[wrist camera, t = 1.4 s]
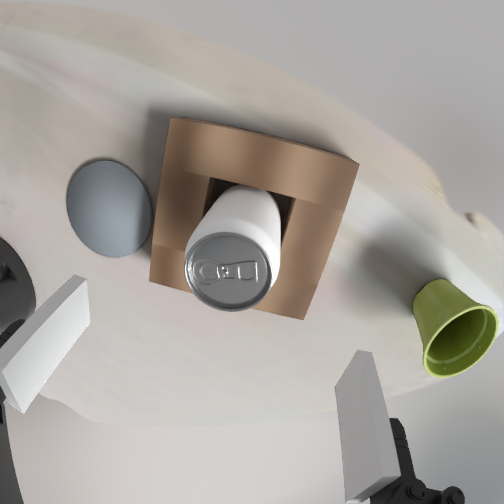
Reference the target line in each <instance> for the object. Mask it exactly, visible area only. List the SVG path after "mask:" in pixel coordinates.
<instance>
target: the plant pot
mask: <svg viewBox="0 0 504 504" xmlns="http://www.w3.org/2000/svg"><path fill="white" fill-rule="evenodd" d="M413 314H414V317H415V320H416V323H417V326H418V329H419V332H420V336H421V339H422V343H423V365H424V368H425V370H426V371H427V373H429V374H430V375H431V376H434V377H438V378H446V377H452V376H455V375H457V374H459V373H462V372H464V371H466V370H467V369H469V368H470V367H472V366H473V365H474V364H476V363H477V362H478V361H479V360H480V359H481V358H482V357H483V356H484V355H485V353H486V352H487V351H488V349H489V348H490V347H491V345H492V344H493V342H494V340H495V337H496V334H497V331H498V317H497V314H496V313H495V311H494V310H493V309H492V308H491V307H489V306H486V305H481V304H479V303H476V302H475V301H473V300H472V299H471V298H470V297H468V296H467V295H466V294H465V293H463V292H462V291H461V290H460V289H458V288H457V287H456V286H455V285H453V284H452V283H451V282H449V281H447V280H445V279H437V280H433V281H431V282H429V283H427V284H426V285H425V286H424V288H423V289H422V290H421V291H420V292H419V293H418V294H417V295H416V297H415V299H414V302H413Z"/></svg>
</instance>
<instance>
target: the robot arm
mask: <svg viewBox="0 0 504 504" xmlns="http://www.w3.org/2000/svg"><path fill="white" fill-rule="evenodd" d="M35 306H36V297H35V291H34V287H33V284H32V281H31V279H30V276H29V274H28V272H27V270H26V268H25V266H24V264H23V263H22V261H21V259H20V258H19V256H18V255H17V254H16V252H15V251H14V250H13V249H12V248H11V247H10V246H9V245H8V244H7V243H6V242H5V241H3V240H2V239H0V504H24V503H23V500H22V496H21V493H20V489H19V485H18V481H17V477H16V473H15V468H14V464H13V460H12V454H11V449H10V444H9V437H8V431H7V423H6V415H5V406H4V403H3V401H4V400H5V398H7V400H8V401H9V403H10V405H11V406H12V407H14V408H15V409H17V410H19V411H20V412H22V413H24V412H25V411H26V409H27V408H28V406H29V405H30V403H31V402H32V401H33V399H34V398H35V396H36V395H37V393H38V392H39V390H40V389H41V388H42V386H43V385H44V383H45V382H46V381H47V379H48V378H49V376H50V375H51V374H52V372H53V371H54V370H55V368H56V367H57V365H58V364H59V363H60V361H61V360H62V359H63V357H64V356H65V355H66V353H67V352H68V351H69V349H70V348H71V347H72V345H73V344H74V343H75V342H76V340H77V339H78V338H79V336H80V335H81V334H82V333H83V331H84V330H85V329H86V328H87V326H88V325H89V324H90V313H89V302H88V290H87V279H85V278H83V277H80V276H77V275H73V276H72V277H71V278H70V279H69V280H68V281H67V282H66V283H65V284H64V285H63V286H61V287H60V288H59V289H58V290H57V291H56V292H55V293H54V294H53V295H52V296H51V297H50V298H49V299H48V300H47V301H46V302H45V303H44V304H43V305H42V306H41V307H40V308H39V309H38V310H37V311H36V312H35V313H34V311H35ZM33 313H34V314H33ZM32 314H33V315H32ZM335 393H336V401H337V410H338V419H339V427H340V438H341V449H342V459H343V460H342V461H343V473H344V488H345V503H354V502H355V503H356V502H363V501H365V500H366V499H368V498H370V504H464V503H465V499H464V498H465V497H464V495H463V492H462V491H461V490H460V489H459V488H457V487H454V486H451V487H448V488H446V489H445V490H443V491H438V490H433V489H428V488H426V486H425V484H424V483H423V482H422V481H421V480H418V479H416V477H415V473H414V469H413V464H412V459H411V455H410V451H409V448H408V442H407V440H406V434H405V430H404V427H403V426H402V424H401V423H400V421H399V420H398V418H389V416H388V412H387V408H386V404H385V400H384V396H383V392H382V388H381V385H380V381H379V377H378V374H377V370H376V366H375V363H374V359H373V356H372V352H367V351H361V350H357V352H356V353H355V355H354V357H353V358H352V360H351V362H350V363H349V365H348V367H347V368H346V370H345V372H344V373H343V375H342V376H341V378H340V380H339V381H338V383H337V384H336V386H335Z"/></svg>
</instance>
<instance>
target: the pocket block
mask: <svg viewBox="0 0 504 504" xmlns="http://www.w3.org/2000/svg"><path fill="white" fill-rule="evenodd" d="M359 165H360V164H358V163H357V162H355V161H354V160H352V159H350V158H347V157H344V156H341V155H338V154H335V153H331V152H328V151H325V150H322V149H318V148H315V147H311V146H308V145H304V144H301V143H297V142H293V141H290V140H286V139H282V138H278V137H274V136H270V135H266V134H262V133H258V132H254V131H249V130H245V129H241V128H236V127H231V126H226V125H222V124H217V123H211V122H206V121H201V120H195V119H189V118H183V117H182V118H171V119H170V124H169V129H168V135H167V140H166V146H165V152H164V158H163V164H162V170H161V177H160V183H159V191H158V198H157V206H156V214H155V222H154V231H153V241H152V252H151V263H150V276H149V281H150V282H154V283H157V284H161V285H164V286H168V287H171V288H175V289H178V290H182V291H186V292H190V293H193V292H192V291H191V290H190V288H189V286H188V284H187V282H186V279H185V274H184V263H185V250H186V246H187V244H188V241H189V239H190V237H191V235H192V234H193V232H194V231H195V229H196V228H197V226H198V225H199V223H200V222H201V221H202V219H203V218H204V216H205V215H206V214H207V212H208V211H209V209H210V204H211V199H212V194H213V189H214V184H215V180H216V178H218V179H222V180H226V181H230V182H235V183H239V184H243V185H247V186H251V187H255V188H259V189H263V190H267V191H271V192H275V193H279V194H283V195H286V196H290V197H292V198H291V202H290V205H289V209H288V212H287V216H286V219H285V223H284V226H283V230H282V233H281V237H280V268H279V272H278V276H277V279H276V281H275V283H274V284H273V286H272V287H271V288H270V290H269V292H268V294H267V295H266V297H265V298H264V299H263V300H262V301H261V302H260V303H258V304H257V305H255V306H254V307H252V309H256V310H261V311H265V312H269V313H273V314H278V315H282V316H287V317H291V318H296V319H300V320H304V317H305V315H306V313H307V310H308V308H309V305H310V303H311V300H312V298H313V295H314V293H315V290H316V288H317V285H318V282H319V280H320V277H321V275H322V272H323V269H324V267H325V264H326V261H327V259H328V256H329V253H330V251H331V248H332V245H333V242H334V240H335V237H336V234H337V231H338V228H339V226H340V223H341V220H342V217H343V214H344V211H345V208H346V205H347V202H348V199H349V196H350V193H351V190H352V187H353V184H354V181H355V177H356V174H357V171H358V168H359Z"/></svg>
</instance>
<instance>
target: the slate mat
mask: <svg viewBox="0 0 504 504" xmlns="http://www.w3.org/2000/svg"><path fill="white" fill-rule="evenodd" d="M67 211H68V216H69V220H70V223H71V225H72V227H73V229H74V231H75V233H76V235H77V236H78V237H79V239H80V240H81V241H82V242H83V243H84V244H85V245H86V246H87V247H88V248H89V249H91V250H92V251H94V252H96V253H97V254H100V255H102V256H106V257H111V258H120V257H124V256H127V255H130V254H131V253H133V252H135V251H136V250H137V249H138V248H139V247H140V246H141V245H142V244H143V243H144V241H145V240H146V238H147V236H148V234H149V232H150V229H151V225H152V205H151V200H150V197H149V194H148V192H147V189H146V187H145V186H144V184H143V182H142V181H141V180H140V178H139V177H138V176H137V175H136V174H135V173H134V172H133V171H132V170H131V169H129V168H128V167H126V166H125V165H123V164H121V163H118V162H115V161H108V160H103V161H97V162H94V163H91V164H89V165H87V166H85V167H83V168H82V169H81V170H80V171H79V172H78V173H77V174H76V175H75V177H74V178H73V180H72V182H71V184H70V187H69V190H68V195H67Z"/></svg>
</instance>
